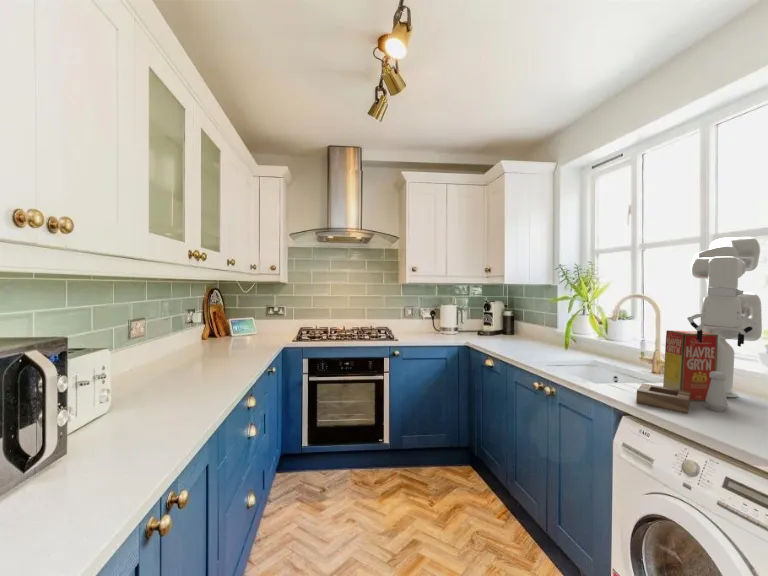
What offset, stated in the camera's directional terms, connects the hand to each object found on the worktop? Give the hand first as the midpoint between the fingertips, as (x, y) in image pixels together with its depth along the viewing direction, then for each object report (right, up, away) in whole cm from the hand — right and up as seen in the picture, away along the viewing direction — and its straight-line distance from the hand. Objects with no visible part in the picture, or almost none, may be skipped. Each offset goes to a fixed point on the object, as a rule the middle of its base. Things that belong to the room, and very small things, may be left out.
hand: (719, 344), depth 125 cm
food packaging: (+3, -23, +16) cm, 28 cm away
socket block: (-14, -23, +6) cm, 27 cm away
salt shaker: (+1, -23, +2) cm, 23 cm away
